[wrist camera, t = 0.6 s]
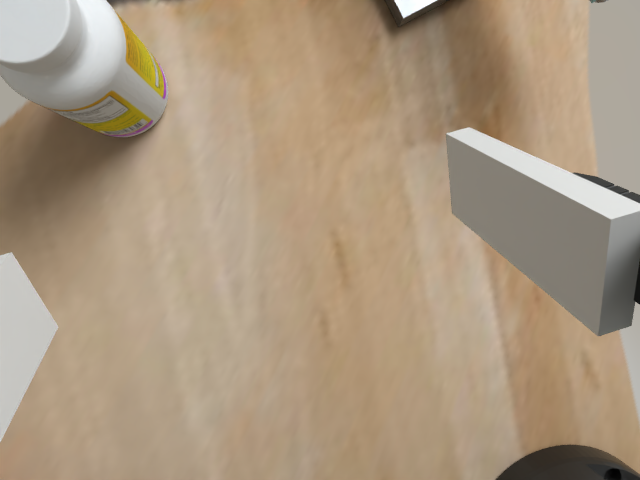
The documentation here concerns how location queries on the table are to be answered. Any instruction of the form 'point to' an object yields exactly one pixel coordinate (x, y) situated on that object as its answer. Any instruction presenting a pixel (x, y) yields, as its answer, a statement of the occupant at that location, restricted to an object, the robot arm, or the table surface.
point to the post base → (410, 9)
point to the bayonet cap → (597, 1)
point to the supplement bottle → (81, 64)
